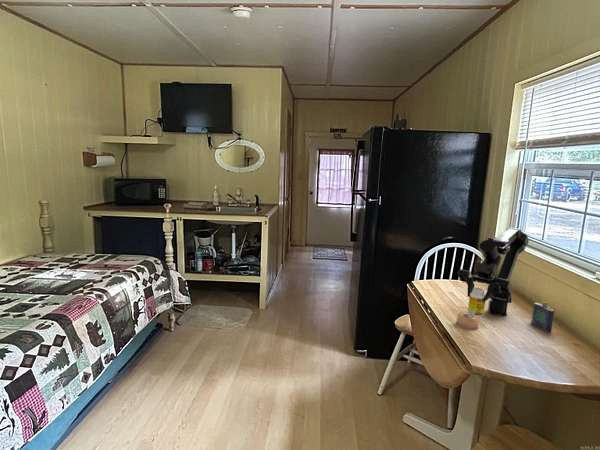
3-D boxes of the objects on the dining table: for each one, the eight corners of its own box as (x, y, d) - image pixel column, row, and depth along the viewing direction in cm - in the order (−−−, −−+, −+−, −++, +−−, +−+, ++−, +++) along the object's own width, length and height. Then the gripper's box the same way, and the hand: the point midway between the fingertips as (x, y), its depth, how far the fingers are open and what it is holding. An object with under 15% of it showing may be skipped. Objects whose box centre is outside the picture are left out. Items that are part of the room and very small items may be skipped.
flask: (529, 322, 151) (533, 298, 149) (535, 322, 151) (539, 298, 149) (547, 332, 142) (551, 306, 140) (553, 332, 142) (558, 306, 140)
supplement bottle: (475, 318, 137) (478, 292, 135) (464, 312, 142) (467, 287, 140) (486, 316, 139) (489, 291, 137) (475, 310, 144) (478, 286, 142)
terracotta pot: (476, 322, 149) (477, 313, 148) (479, 331, 141) (481, 321, 140) (455, 319, 151) (456, 310, 150) (457, 327, 143) (458, 318, 143)
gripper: (461, 249, 146) (447, 281, 140) (512, 259, 132) (498, 295, 127) (467, 264, 152) (454, 296, 147) (516, 275, 139) (503, 310, 134)
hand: (476, 298), depth 138 cm, fingers closed on supplement bottle, 5 cm apart
